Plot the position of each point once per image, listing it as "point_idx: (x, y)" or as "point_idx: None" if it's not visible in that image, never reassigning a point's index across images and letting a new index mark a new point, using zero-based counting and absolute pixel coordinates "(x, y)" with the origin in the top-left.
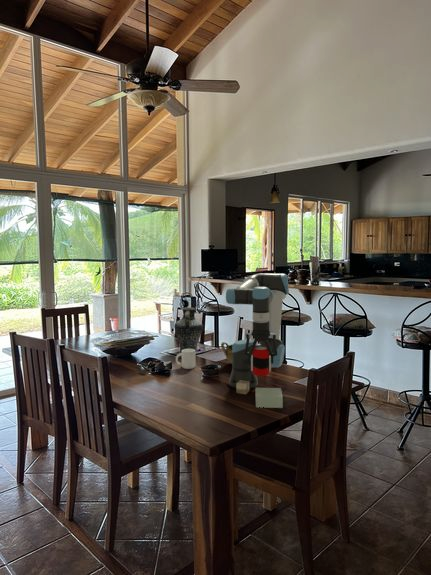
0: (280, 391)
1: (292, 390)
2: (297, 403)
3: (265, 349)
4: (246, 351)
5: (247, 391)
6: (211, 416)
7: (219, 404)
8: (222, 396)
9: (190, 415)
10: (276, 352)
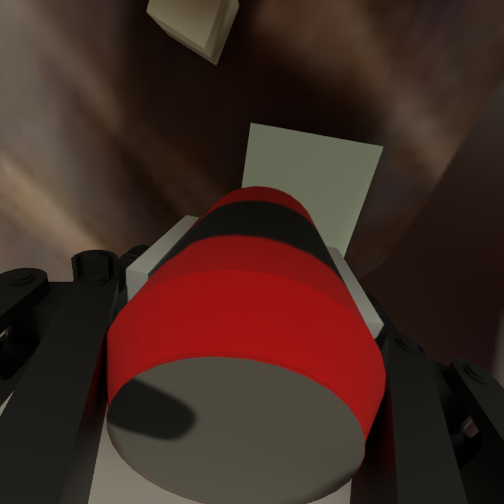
0: (360, 197)
1: (480, 27)
2: (405, 213)
3: (299, 502)
4: (10, 370)
5: (225, 37)
6: None
7: (107, 184)
8: (106, 87)
9: (35, 261)
10: (458, 454)
